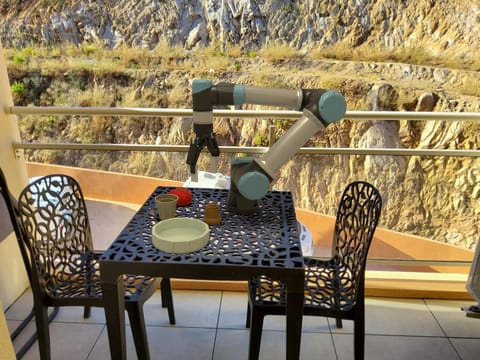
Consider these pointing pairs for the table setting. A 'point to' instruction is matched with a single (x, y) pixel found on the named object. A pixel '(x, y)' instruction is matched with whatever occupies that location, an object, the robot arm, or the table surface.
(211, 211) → the ornamental finial
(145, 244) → the table surface
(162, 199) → the flower pot
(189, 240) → the bowl
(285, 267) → the table surface
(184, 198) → the tomato
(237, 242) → the table surface
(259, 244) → the table surface
